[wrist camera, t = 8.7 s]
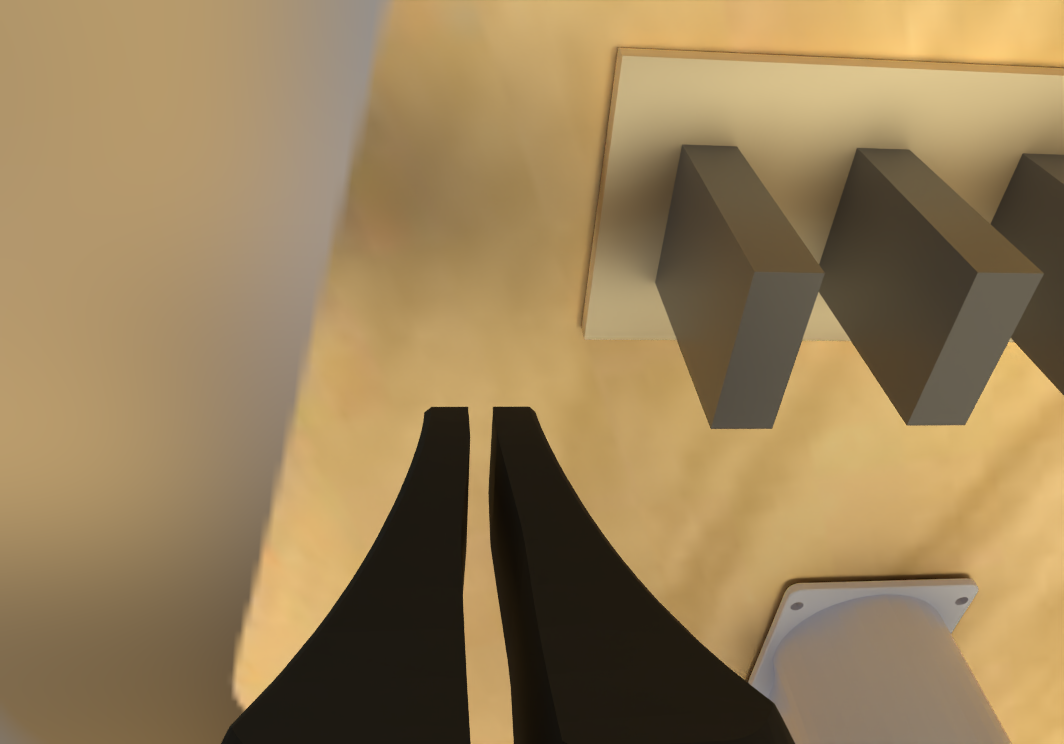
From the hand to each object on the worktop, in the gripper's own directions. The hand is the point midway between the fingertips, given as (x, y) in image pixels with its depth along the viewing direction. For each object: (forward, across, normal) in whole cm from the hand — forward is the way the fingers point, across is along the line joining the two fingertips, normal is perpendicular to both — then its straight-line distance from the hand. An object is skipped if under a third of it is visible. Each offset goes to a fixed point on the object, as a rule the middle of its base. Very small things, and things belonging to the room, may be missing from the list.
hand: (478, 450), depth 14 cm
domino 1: (+9, -6, 0) cm, 11 cm away
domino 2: (+9, -10, 0) cm, 14 cm away
